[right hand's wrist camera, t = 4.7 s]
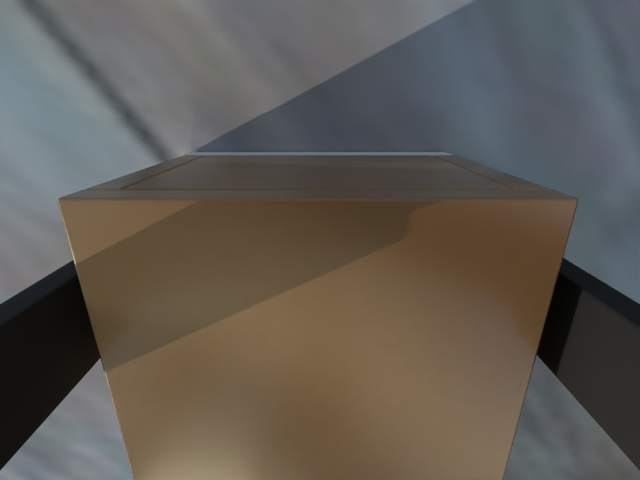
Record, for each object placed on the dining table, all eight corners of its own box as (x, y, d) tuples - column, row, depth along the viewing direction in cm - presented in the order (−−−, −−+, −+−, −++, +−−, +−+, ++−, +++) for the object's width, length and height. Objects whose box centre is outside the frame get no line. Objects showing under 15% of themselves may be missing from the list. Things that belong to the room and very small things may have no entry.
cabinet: (406, 470, 22) (452, 666, 14) (232, 471, 22) (184, 667, 14) (446, 151, 15) (581, 198, 7) (190, 152, 15) (54, 197, 7)
